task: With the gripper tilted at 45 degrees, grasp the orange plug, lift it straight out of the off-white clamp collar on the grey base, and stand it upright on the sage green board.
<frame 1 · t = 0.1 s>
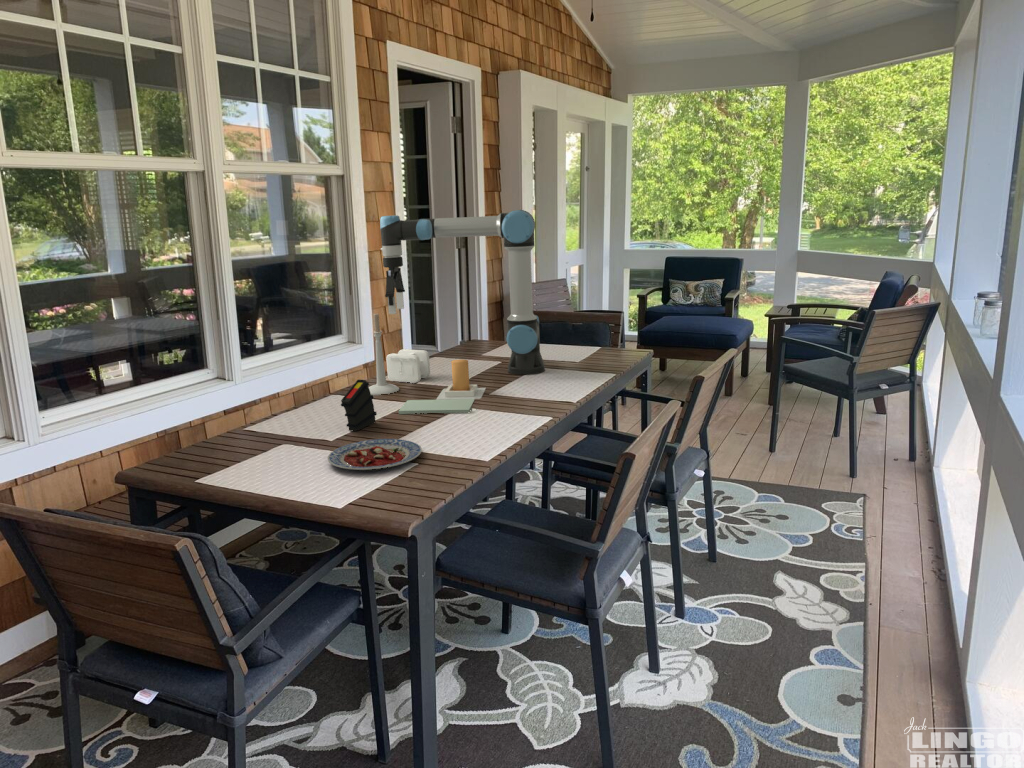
hand: (396, 311, 301), 28 cm above the table, tool pointing down, fingers open, 13 cm apart
candlestick: (382, 391, 292), on the table
sage board: (437, 408, 264), on the table
cable organizer: (409, 381, 308), on the table
ceramic plate: (375, 460, 214), on the table
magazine: (360, 428, 245), on the table
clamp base: (461, 396, 279), on the table
orange plug: (461, 393, 279), point 1 cm above the table, touching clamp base
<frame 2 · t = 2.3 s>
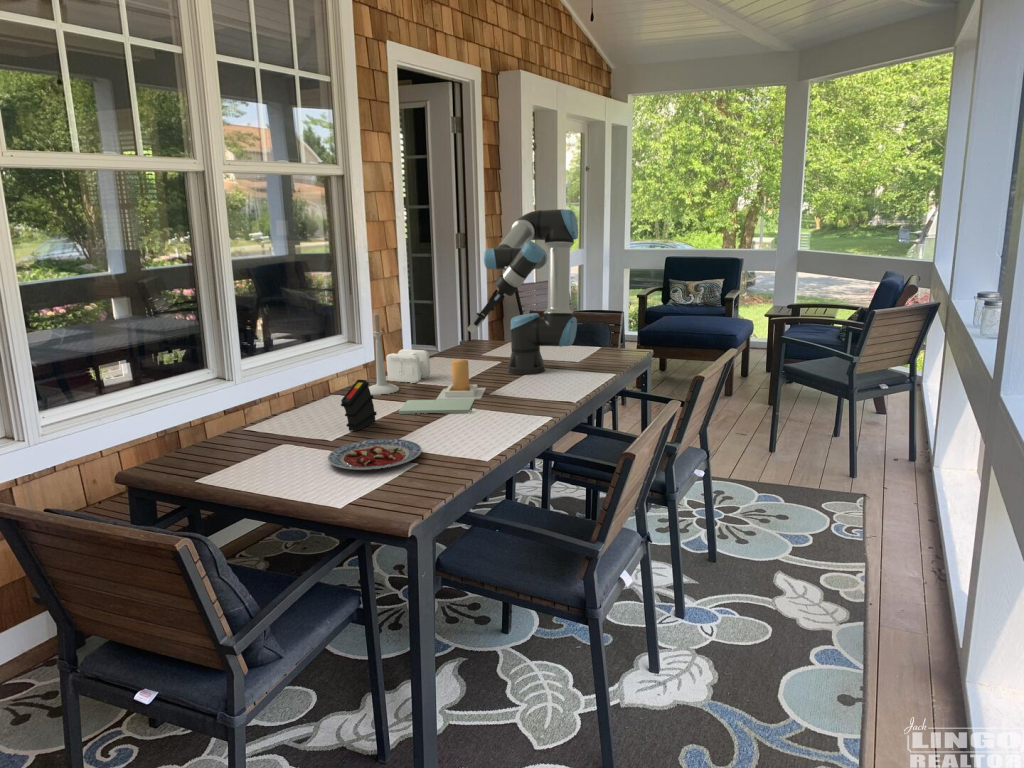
hand: (473, 326, 274), 25 cm above the table, tool tilted 40°, fingers open, 13 cm apart
nothing on the table moved.
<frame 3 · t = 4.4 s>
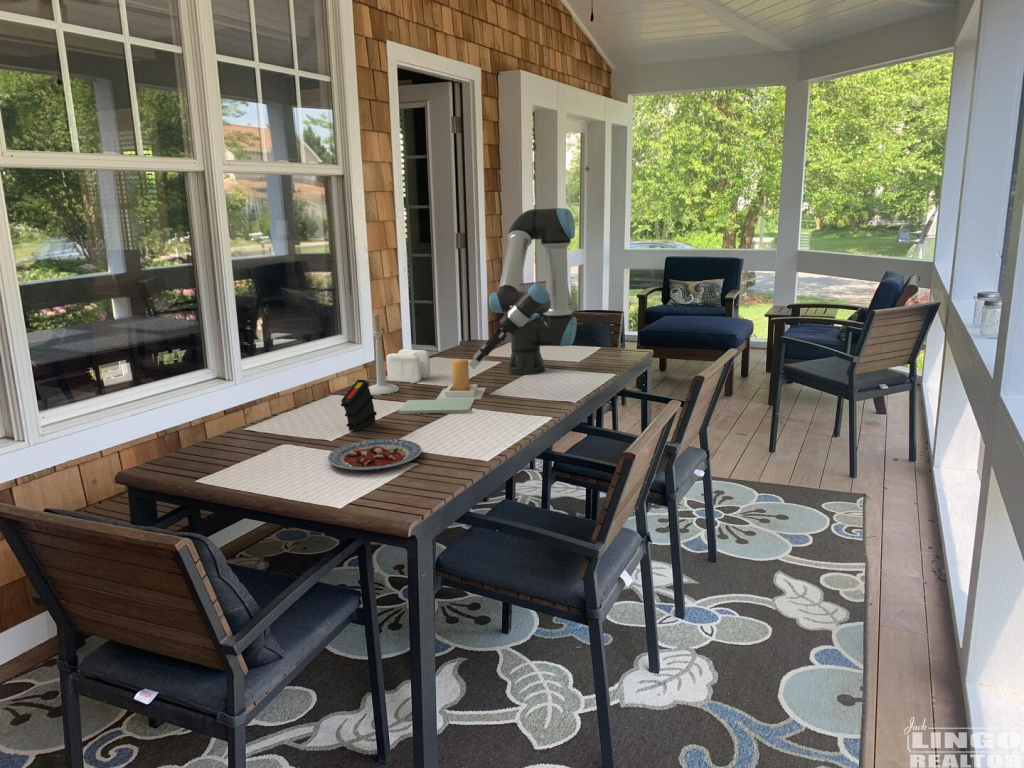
hand: (473, 362, 275), 12 cm above the table, tool tilted 45°, fingers open, 13 cm apart
nothing on the table moved.
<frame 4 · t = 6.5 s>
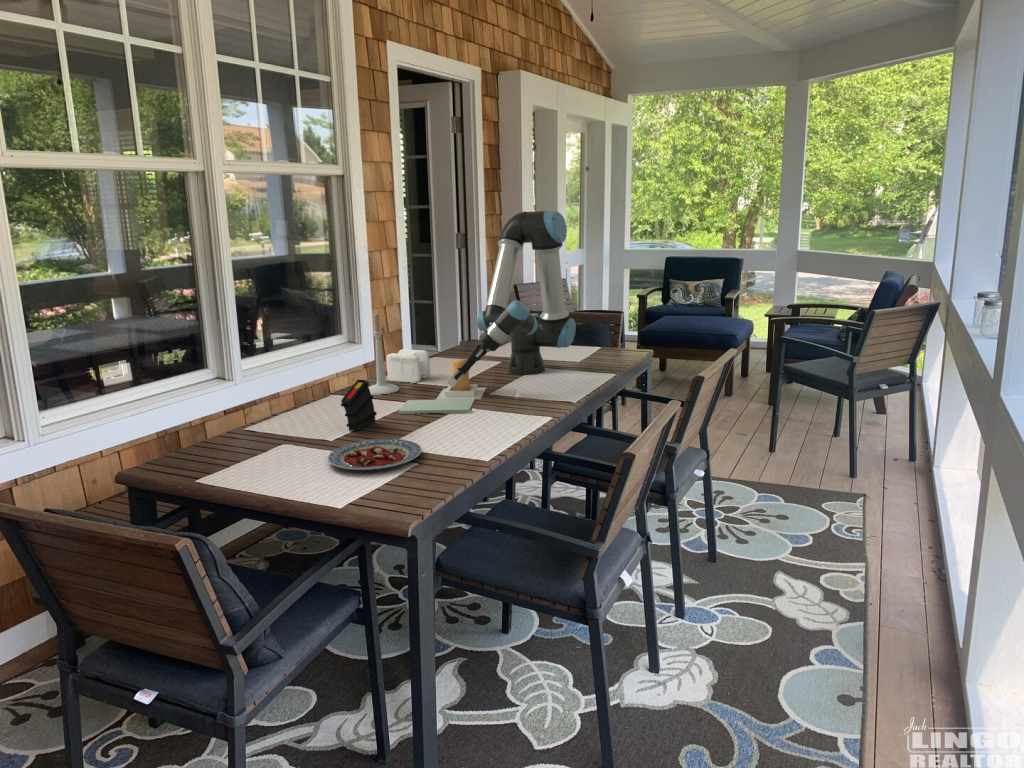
hand: (451, 382, 278), 5 cm above the table, tool tilted 45°, fingers closed on orange plug, 6 cm apart
orange plug: (461, 393, 279), point 1 cm above the table, touching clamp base, gripper
everything else where it was.
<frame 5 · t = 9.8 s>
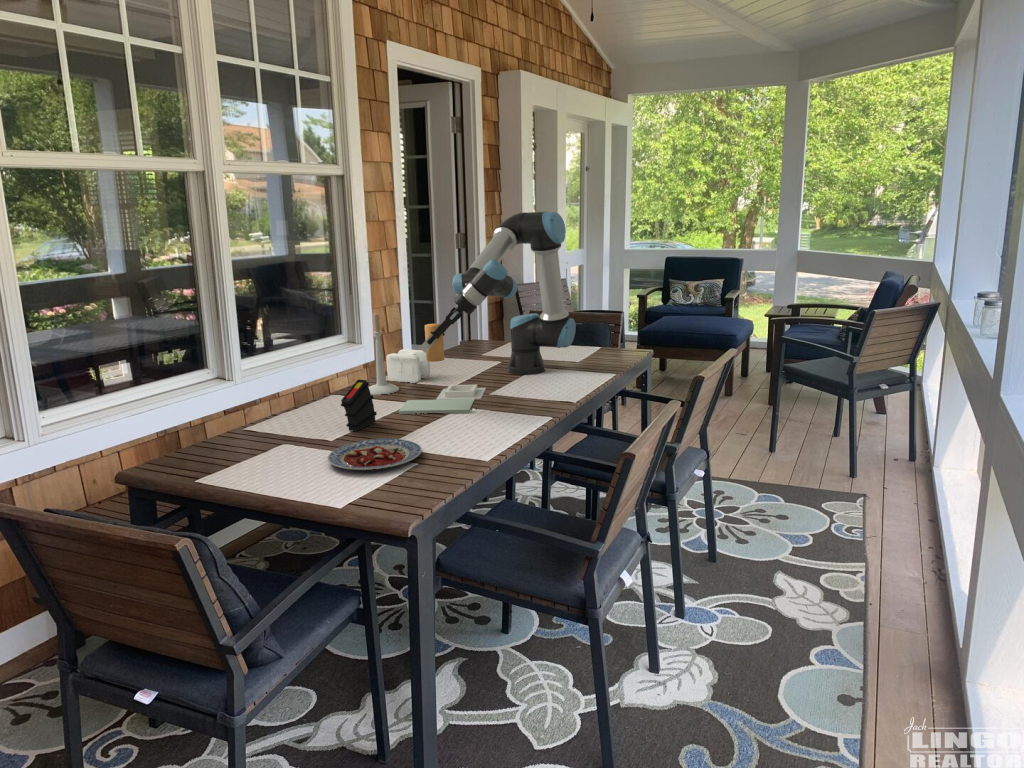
hand: (424, 348, 261), 21 cm above the table, tool tilted 45°, fingers closed on orange plug, 6 cm apart
orange plug: (435, 359, 262), point 17 cm above the table, touching gripper
everything else where it was.
when the fingers open (7 cm above the table, at t = 13.2 s): orange plug drops 1 cm, resting on sage board.
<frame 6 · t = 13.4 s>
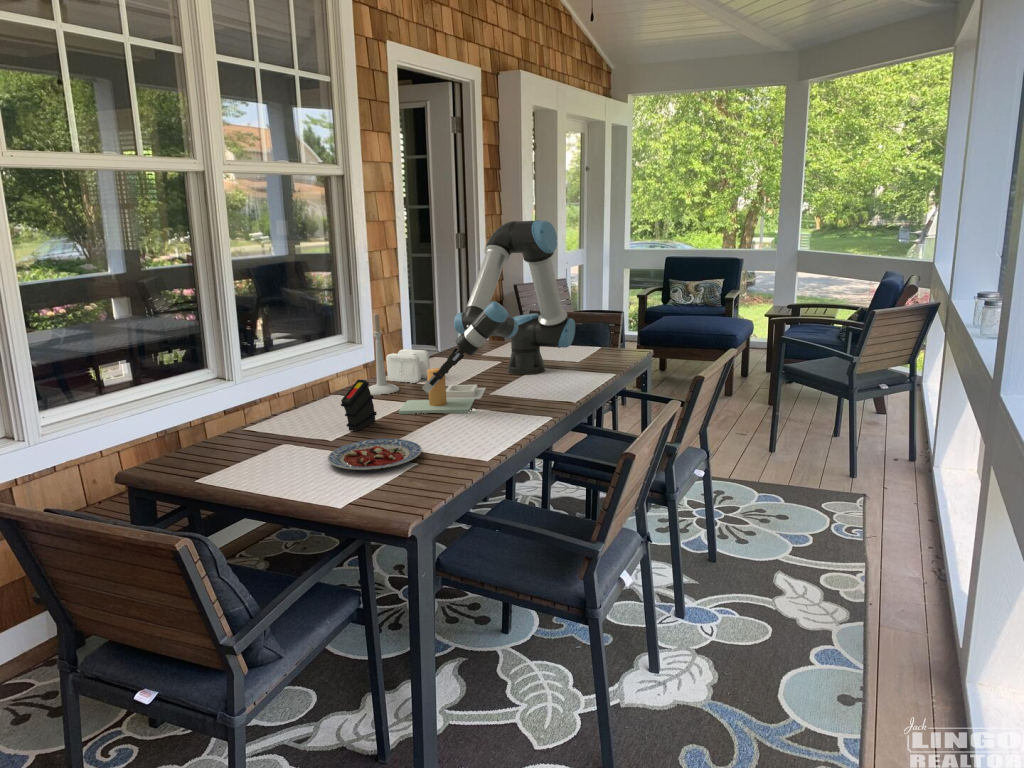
hand: (427, 387, 264), 7 cm above the table, tool tilted 45°, fingers open, 9 cm apart
orange plug: (438, 403, 265), point 1 cm above the table, touching sage board
everything else where it was.
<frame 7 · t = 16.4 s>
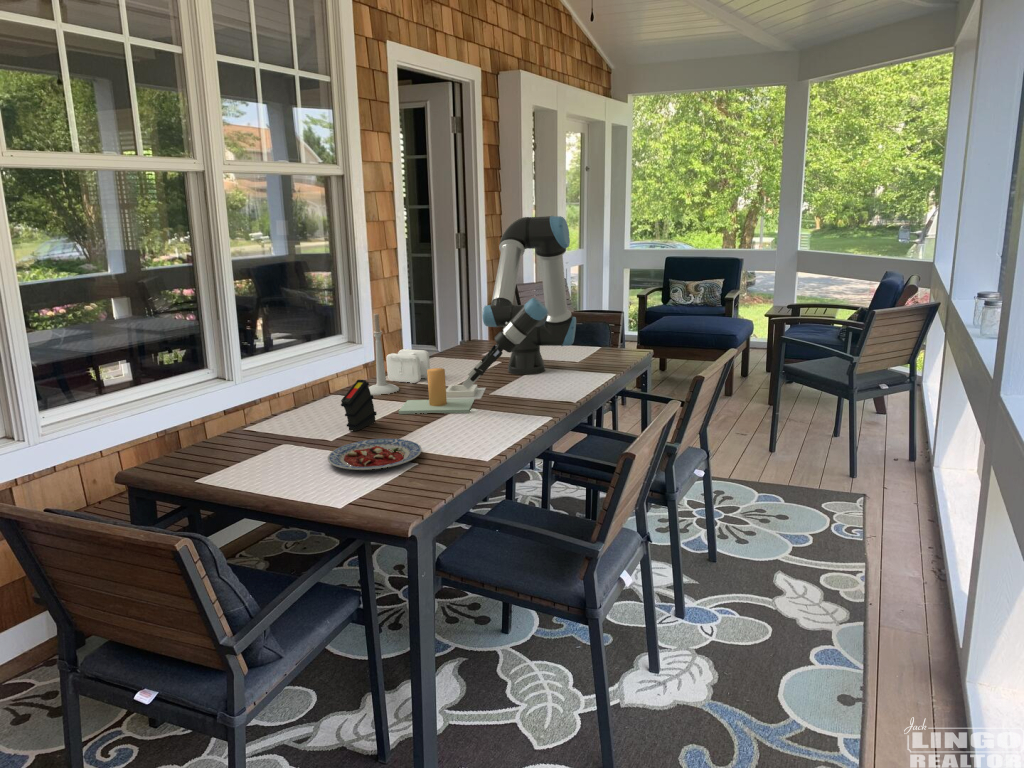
hand: (468, 381, 263), 9 cm above the table, tool tilted 45°, fingers open, 13 cm apart
nothing on the table moved.
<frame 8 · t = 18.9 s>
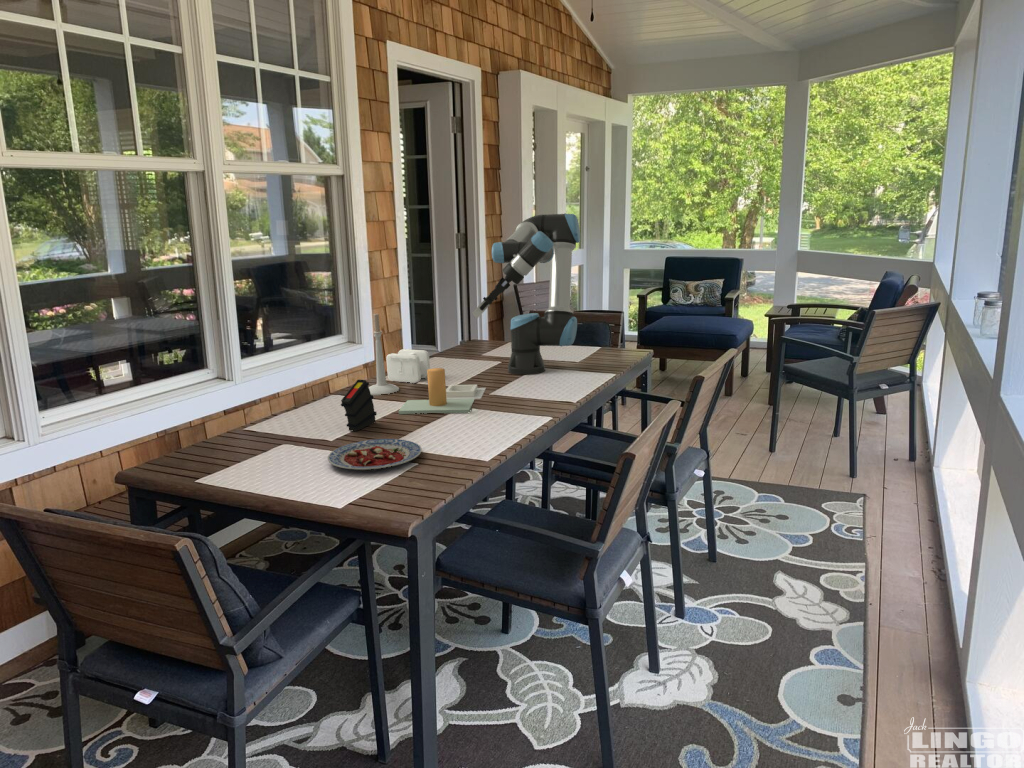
hand: (477, 313, 276), 30 cm above the table, tool tilted 45°, fingers open, 13 cm apart
nothing on the table moved.
at the end: orange plug inside the target area (0.1 cm from its centre), point 1.2 cm above the table; orange plug tilted 0°; the gripper is holding nothing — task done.
